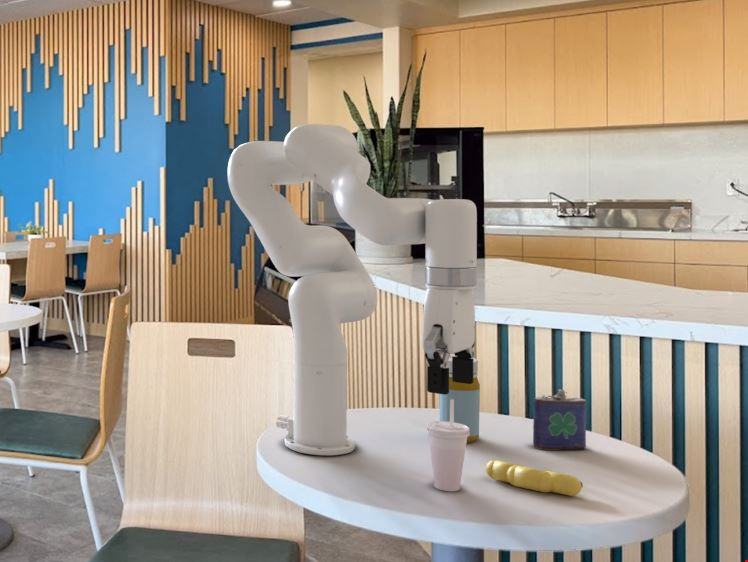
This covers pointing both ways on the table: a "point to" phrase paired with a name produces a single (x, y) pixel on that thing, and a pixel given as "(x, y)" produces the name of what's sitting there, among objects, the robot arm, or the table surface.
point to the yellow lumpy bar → (534, 478)
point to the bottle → (462, 402)
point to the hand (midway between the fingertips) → (450, 387)
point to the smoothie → (447, 451)
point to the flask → (559, 422)
